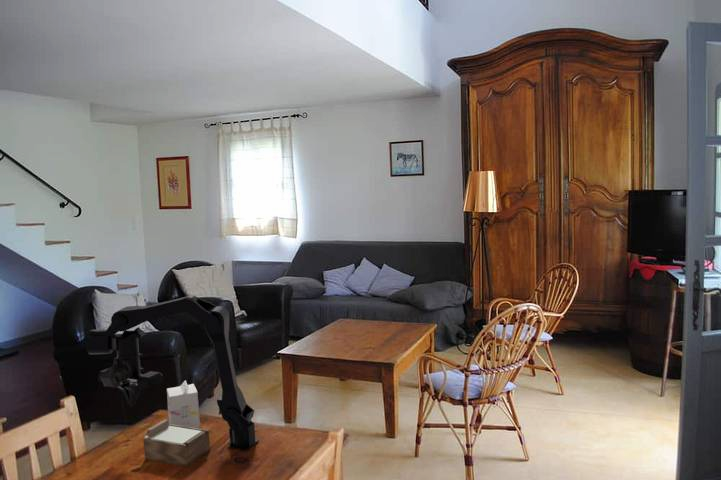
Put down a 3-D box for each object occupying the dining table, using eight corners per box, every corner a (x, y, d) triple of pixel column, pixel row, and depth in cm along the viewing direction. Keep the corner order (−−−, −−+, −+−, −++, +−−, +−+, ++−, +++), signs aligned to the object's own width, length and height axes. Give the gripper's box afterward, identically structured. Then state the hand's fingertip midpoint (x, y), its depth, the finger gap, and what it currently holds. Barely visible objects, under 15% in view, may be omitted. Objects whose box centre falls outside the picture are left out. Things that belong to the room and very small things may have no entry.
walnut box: (210, 450, 163) (208, 429, 162) (186, 467, 154) (184, 445, 153) (170, 443, 168) (168, 423, 167) (145, 459, 159) (143, 438, 158)
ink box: (168, 424, 182) (165, 382, 180) (195, 418, 185) (193, 377, 184) (172, 434, 174) (168, 391, 173) (200, 428, 178) (197, 386, 176)
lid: (202, 433, 162) (201, 424, 162) (182, 446, 154) (181, 436, 154) (165, 427, 167) (164, 418, 167) (144, 439, 159) (143, 430, 159)
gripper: (79, 358, 159) (84, 413, 160) (132, 364, 151) (137, 422, 153) (111, 347, 169) (115, 398, 170) (162, 352, 162) (166, 406, 163)
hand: (132, 406), depth 164 cm, fingers closed
